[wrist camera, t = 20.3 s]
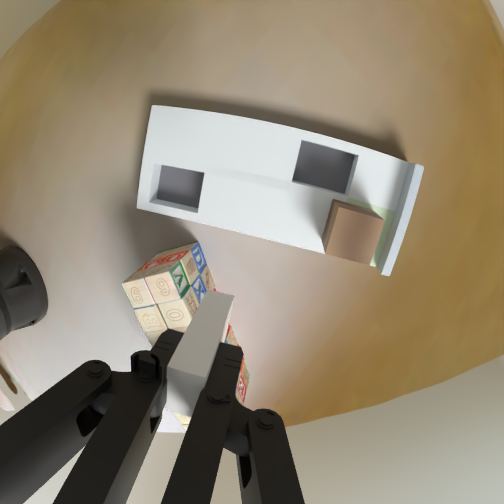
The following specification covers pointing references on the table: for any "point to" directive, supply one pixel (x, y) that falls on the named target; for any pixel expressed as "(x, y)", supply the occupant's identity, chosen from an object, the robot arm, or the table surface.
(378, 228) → the walnut block
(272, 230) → the box
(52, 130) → the table surface
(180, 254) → the stack of blocks
